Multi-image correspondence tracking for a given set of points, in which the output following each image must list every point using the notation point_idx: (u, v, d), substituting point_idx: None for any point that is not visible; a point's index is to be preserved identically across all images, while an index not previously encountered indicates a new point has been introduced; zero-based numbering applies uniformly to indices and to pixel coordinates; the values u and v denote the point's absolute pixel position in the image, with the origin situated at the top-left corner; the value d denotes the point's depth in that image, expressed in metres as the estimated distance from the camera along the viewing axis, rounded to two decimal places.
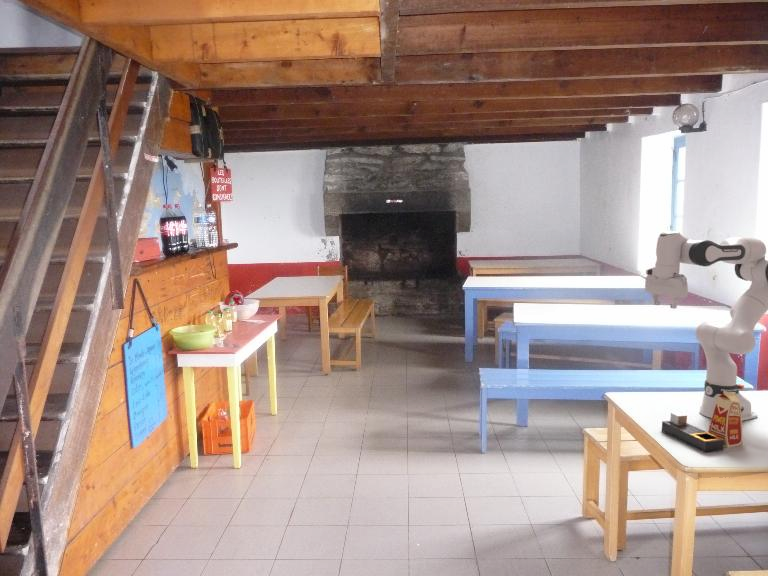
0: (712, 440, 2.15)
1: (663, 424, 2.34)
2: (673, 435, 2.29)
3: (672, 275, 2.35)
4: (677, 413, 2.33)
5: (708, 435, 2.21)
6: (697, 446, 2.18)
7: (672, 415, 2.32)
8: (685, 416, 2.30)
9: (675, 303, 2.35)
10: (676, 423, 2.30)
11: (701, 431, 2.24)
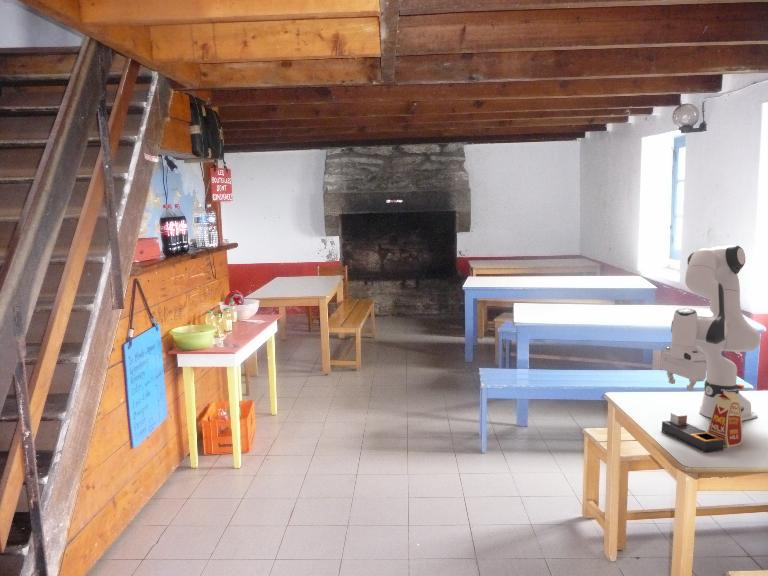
0: (712, 440, 2.15)
1: (663, 424, 2.34)
2: (673, 435, 2.29)
3: None
4: (677, 413, 2.33)
5: (708, 435, 2.21)
6: (697, 446, 2.18)
7: (672, 415, 2.32)
8: (685, 416, 2.30)
9: None
10: (676, 423, 2.30)
11: (701, 431, 2.24)
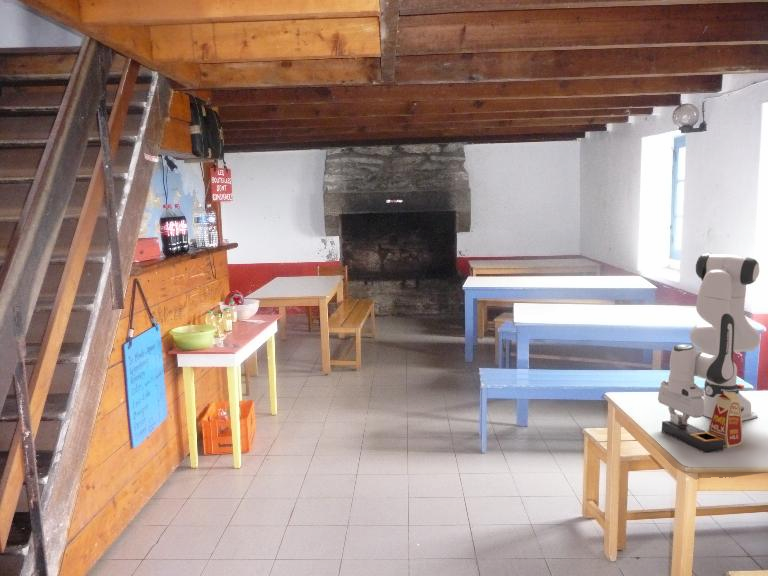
0: (712, 440, 2.15)
1: (663, 424, 2.34)
2: (673, 435, 2.29)
3: None
4: (677, 413, 2.33)
5: (708, 435, 2.21)
6: (697, 446, 2.18)
7: (672, 415, 2.32)
8: None
9: None
10: (676, 423, 2.30)
11: (701, 431, 2.24)
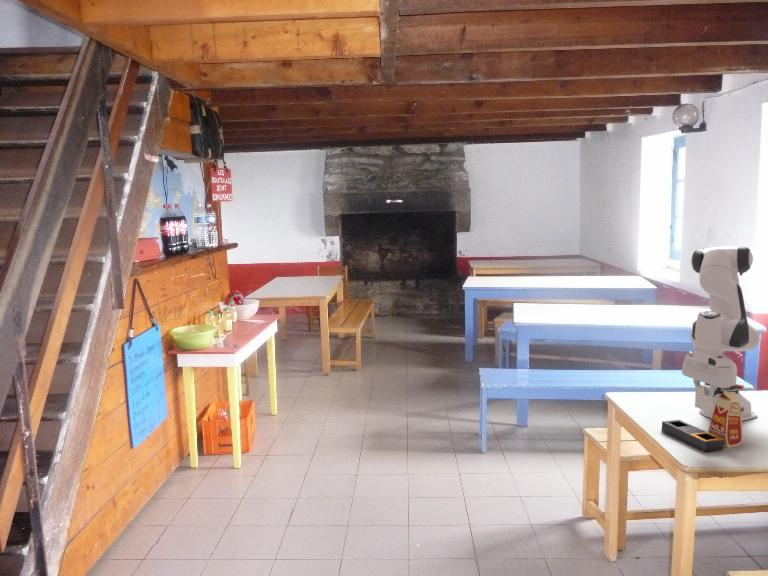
0: (712, 440, 2.15)
1: (663, 424, 2.34)
2: (673, 435, 2.29)
3: None
4: (702, 385, 2.19)
5: (708, 435, 2.21)
6: (697, 446, 2.18)
7: (697, 387, 2.19)
8: None
9: None
10: (702, 395, 2.17)
11: (701, 431, 2.24)
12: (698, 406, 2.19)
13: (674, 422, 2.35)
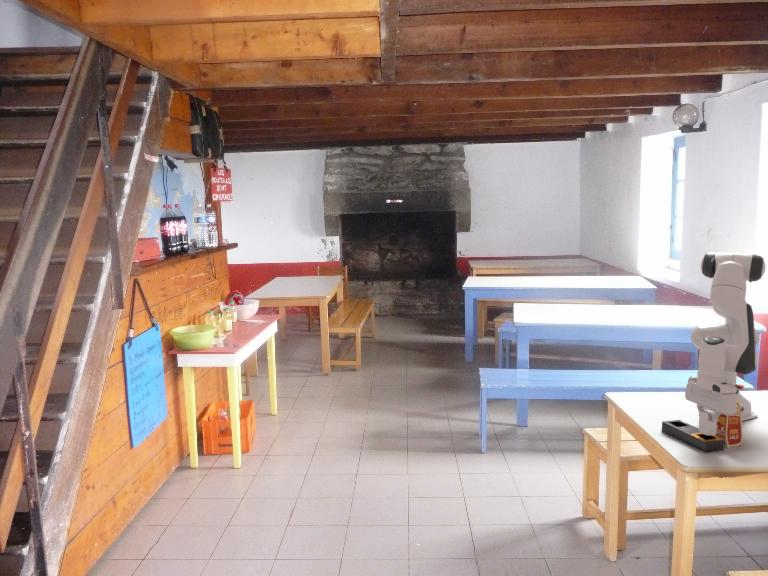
0: (712, 440, 2.15)
1: (663, 424, 2.34)
2: (673, 435, 2.29)
3: None
4: (706, 411, 2.18)
5: (708, 435, 2.21)
6: (697, 446, 2.18)
7: (701, 413, 2.18)
8: None
9: None
10: (706, 421, 2.16)
11: None
12: (702, 432, 2.18)
13: (674, 422, 2.35)
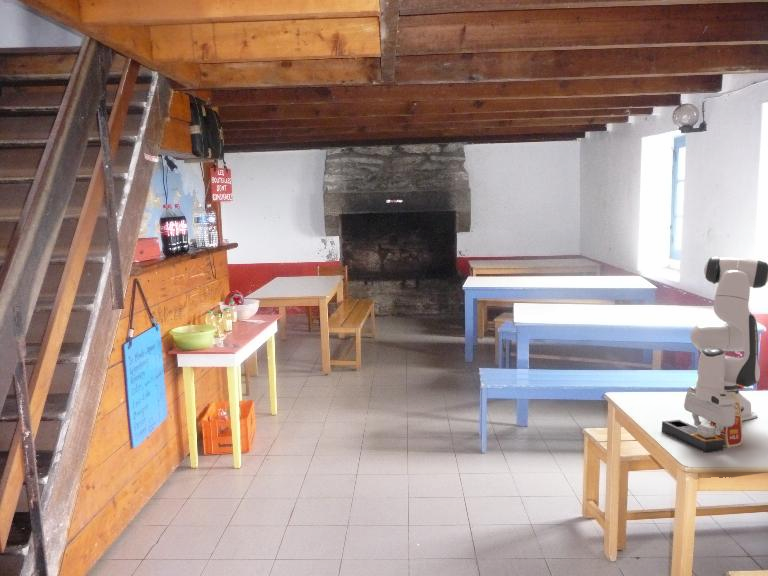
0: (712, 440, 2.15)
1: (663, 424, 2.34)
2: (673, 435, 2.29)
3: None
4: (704, 425, 2.20)
5: None
6: (697, 446, 2.18)
7: (699, 427, 2.19)
8: (713, 428, 2.17)
9: None
10: (703, 436, 2.17)
11: None
12: None
13: (674, 422, 2.35)
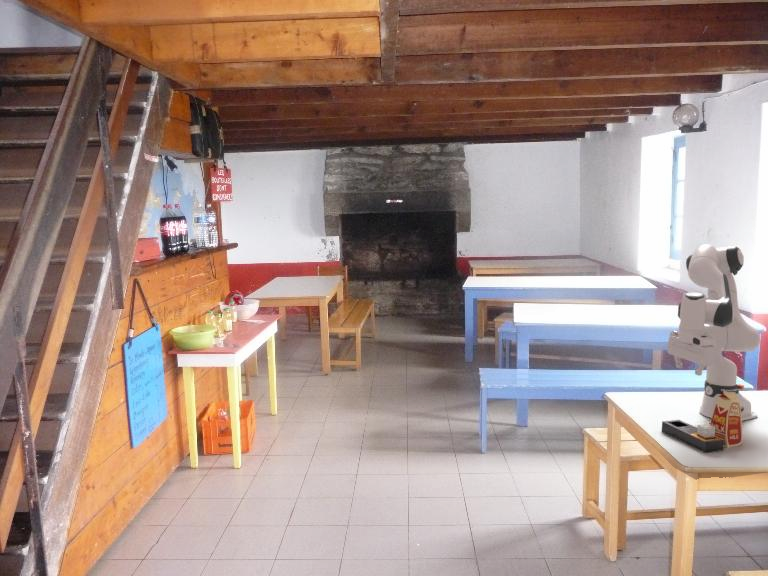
0: (712, 440, 2.15)
1: (663, 424, 2.34)
2: (673, 435, 2.29)
3: None
4: (704, 425, 2.20)
5: None
6: (697, 446, 2.18)
7: (699, 427, 2.19)
8: (713, 428, 2.17)
9: None
10: (703, 436, 2.17)
11: None
12: None
13: (674, 422, 2.35)
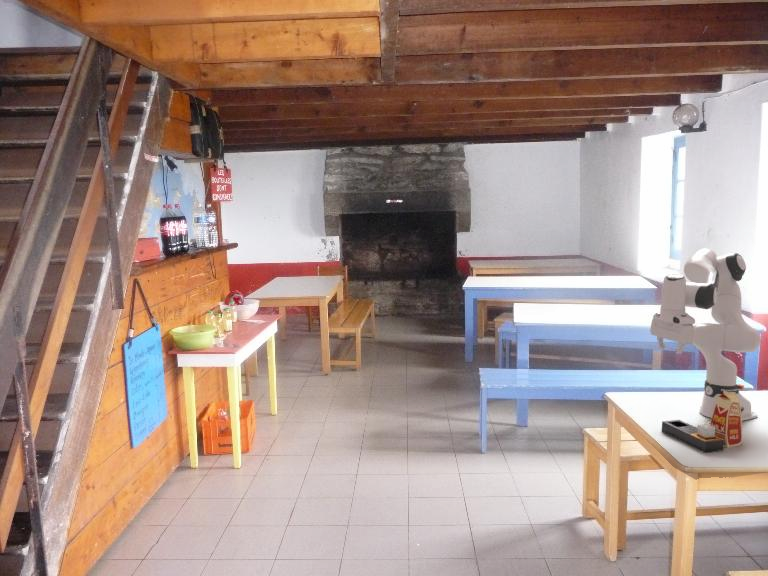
0: (712, 440, 2.15)
1: (663, 424, 2.34)
2: (673, 435, 2.29)
3: None
4: (704, 425, 2.20)
5: None
6: (697, 446, 2.18)
7: (699, 427, 2.19)
8: (713, 428, 2.17)
9: None
10: (703, 436, 2.17)
11: None
12: None
13: (674, 422, 2.35)
